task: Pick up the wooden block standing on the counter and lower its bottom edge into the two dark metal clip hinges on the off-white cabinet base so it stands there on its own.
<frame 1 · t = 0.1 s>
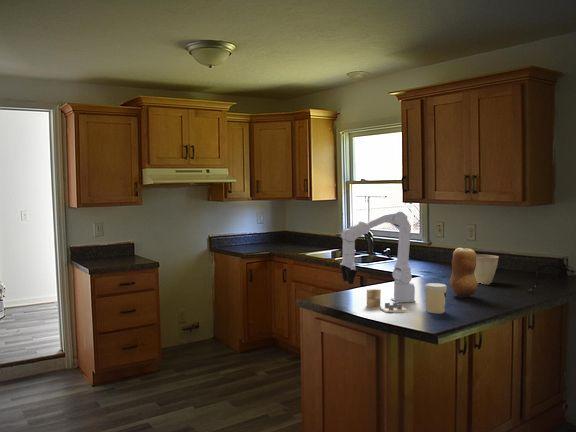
hand: (348, 282, 251), 10 cm above the counter, tool pointing down, fingers open, 7 cm apart
coffee cup: (435, 311, 236), on the counter
cabinet base: (393, 310, 237), on the counter
wooden block: (373, 306, 245), on the counter
butternut squash: (462, 297, 266), on the counter
plant pot: (484, 283, 305), on the counter
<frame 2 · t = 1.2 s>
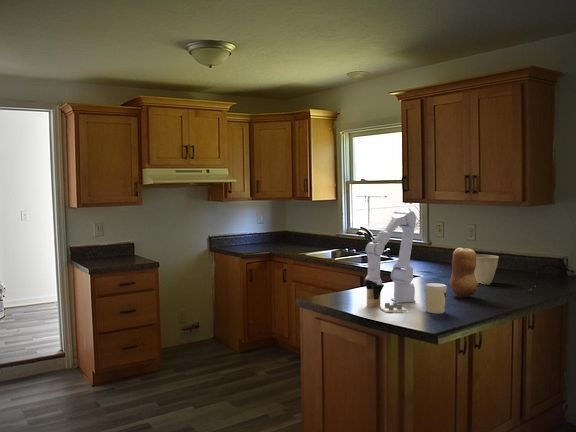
hand: (373, 297, 244), 4 cm above the counter, tool pointing down, fingers open, 7 cm apart
nothing on the counter moved.
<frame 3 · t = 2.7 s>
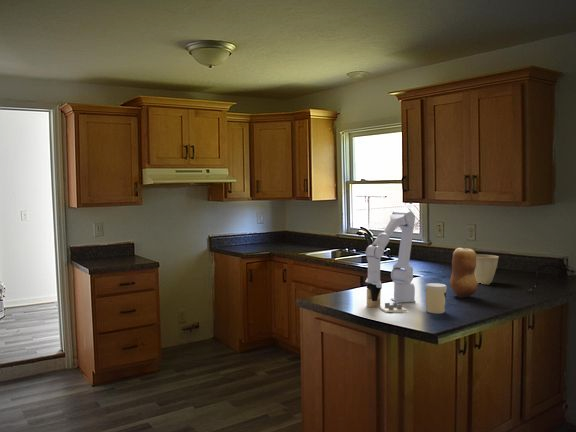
hand: (373, 300, 245), 3 cm above the counter, tool pointing down, fingers closed on wooden block, 2 cm apart
wooden block: (373, 306, 245), on the counter, touching gripper
everything else where it was.
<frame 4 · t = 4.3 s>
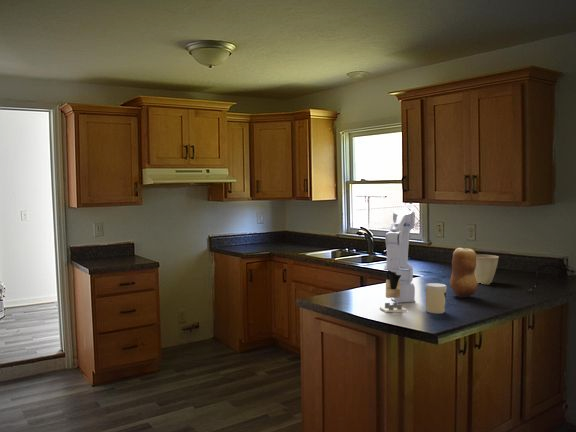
hand: (392, 288, 237), 10 cm above the counter, tool pointing down, fingers closed on wooden block
wooden block: (392, 297, 237), point 6 cm above the counter, touching gripper
everything else where it was.
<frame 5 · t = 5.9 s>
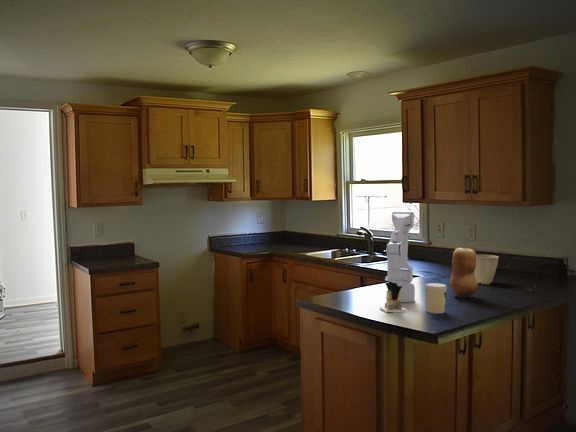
hand: (393, 299, 237), 5 cm above the counter, tool pointing down, fingers closed on wooden block, 2 cm apart
wooden block: (393, 308, 237), point 1 cm above the counter, touching cabinet base, gripper
everything else where it was.
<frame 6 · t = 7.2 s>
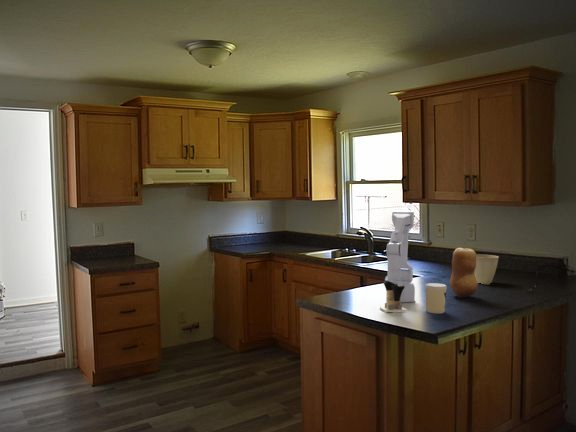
hand: (393, 299, 237), 5 cm above the counter, tool pointing down, fingers open, 7 cm apart
wooden block: (393, 308, 237), point 1 cm above the counter, touching cabinet base
everything else where it was.
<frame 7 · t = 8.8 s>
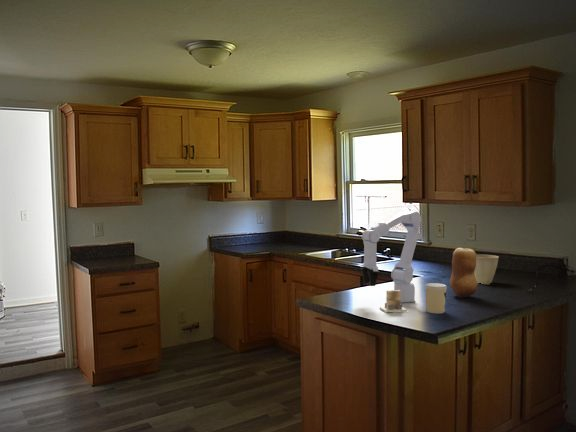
hand: (369, 284, 247), 10 cm above the counter, tool pointing down, fingers open, 7 cm apart
nothing on the counter moved.
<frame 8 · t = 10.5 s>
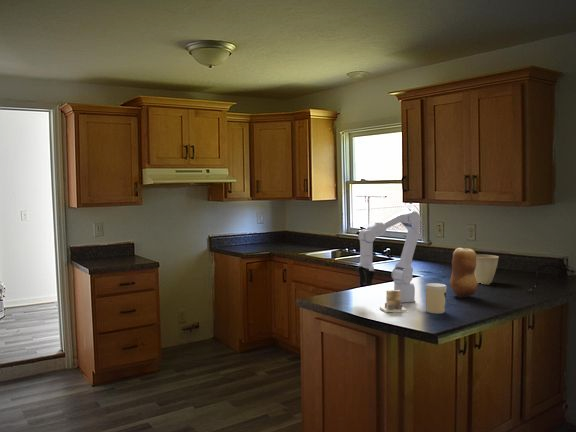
hand: (365, 283, 249), 10 cm above the counter, tool pointing down, fingers open, 7 cm apart
nothing on the counter moved.
at the end: wooden block 0.0 cm off-centre on the cabinet base, point 1.0 cm above the cabinet base's base; wooden block tilted 0°; the gripper is holding nothing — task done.
